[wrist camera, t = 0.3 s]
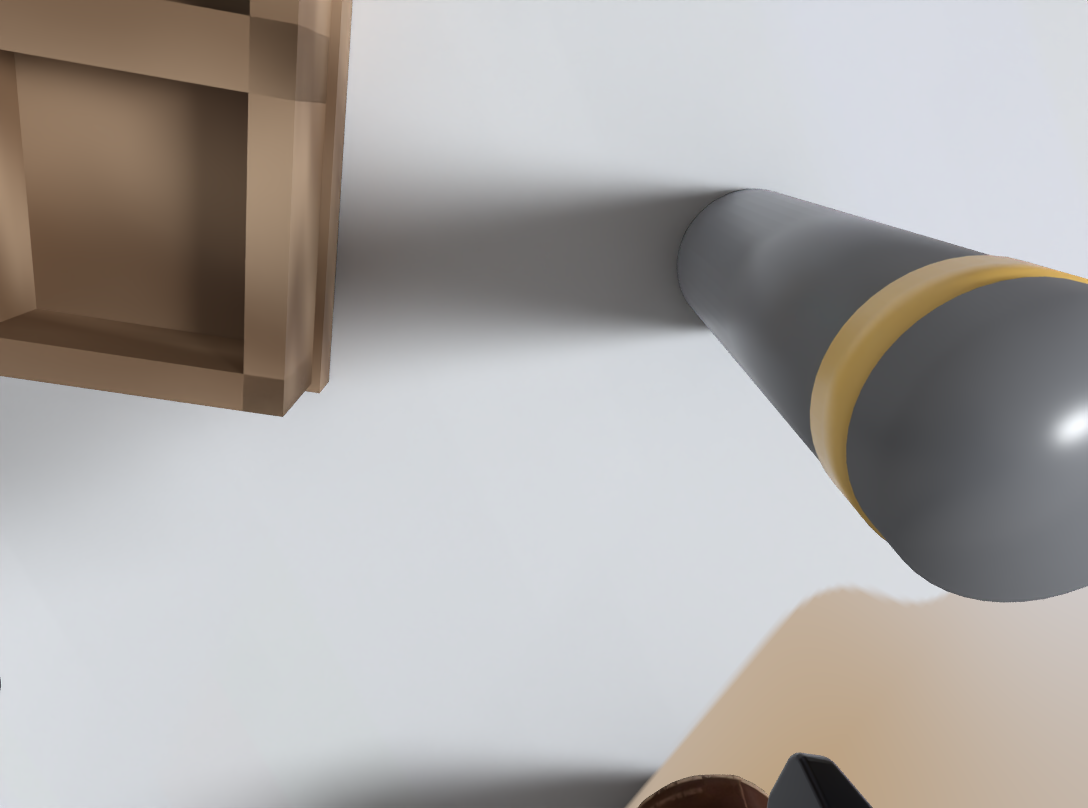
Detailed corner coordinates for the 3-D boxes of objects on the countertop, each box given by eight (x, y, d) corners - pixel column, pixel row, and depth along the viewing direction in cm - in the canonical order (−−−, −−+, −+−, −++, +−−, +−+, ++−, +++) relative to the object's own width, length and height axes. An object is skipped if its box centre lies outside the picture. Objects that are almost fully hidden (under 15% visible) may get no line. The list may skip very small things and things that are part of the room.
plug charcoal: (796, 341, 22) (1130, 624, 9) (661, 319, 21) (827, 582, 9) (838, 200, 20) (1299, 320, 8) (694, 175, 20) (945, 260, 8)
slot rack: (328, 381, 22) (292, 427, 19) (17, 335, 21) (-77, 373, 18) (374, -349, 16) (332, -472, 13) (-59, -443, 15) (-222, -598, 12)
